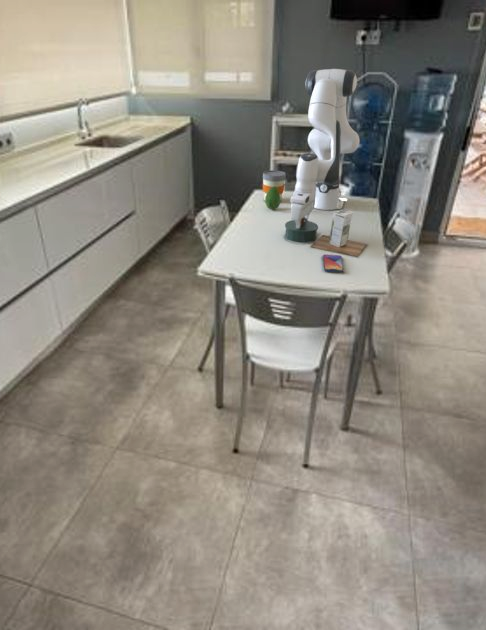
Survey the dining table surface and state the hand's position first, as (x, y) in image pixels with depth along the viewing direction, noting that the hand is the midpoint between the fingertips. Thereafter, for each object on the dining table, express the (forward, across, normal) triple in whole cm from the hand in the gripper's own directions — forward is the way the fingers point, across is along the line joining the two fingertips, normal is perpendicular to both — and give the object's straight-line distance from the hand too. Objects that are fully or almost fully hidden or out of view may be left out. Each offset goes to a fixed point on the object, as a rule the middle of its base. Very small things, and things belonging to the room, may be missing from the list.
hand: (301, 224), depth 199 cm
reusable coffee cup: (+6, -44, -34) cm, 56 cm away
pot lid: (+1, 0, 0) cm, 1 cm away
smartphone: (+6, +20, +22) cm, 30 cm away
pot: (+6, 0, 0) cm, 6 cm away
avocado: (+6, -30, -28) cm, 41 cm away
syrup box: (+6, 0, +17) cm, 18 cm away
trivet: (+6, 0, +18) cm, 19 cm away
